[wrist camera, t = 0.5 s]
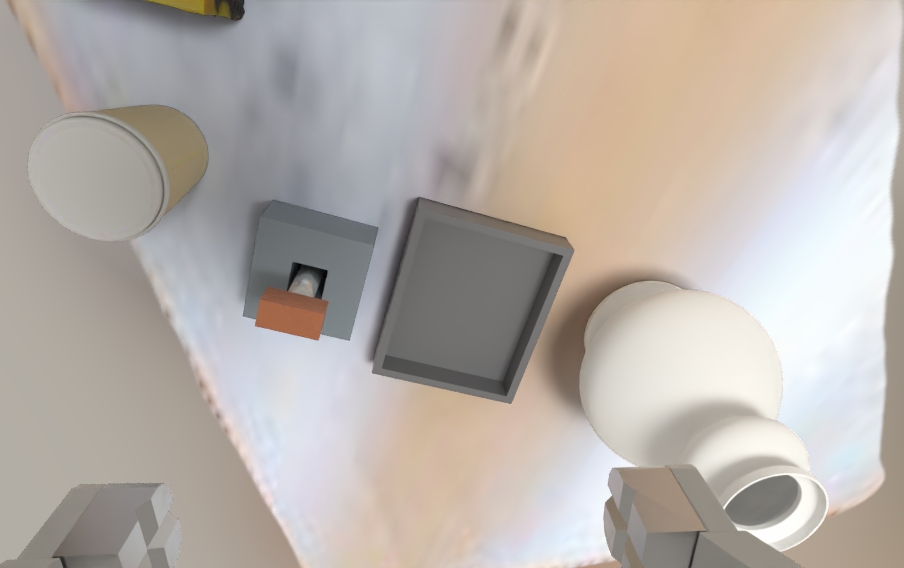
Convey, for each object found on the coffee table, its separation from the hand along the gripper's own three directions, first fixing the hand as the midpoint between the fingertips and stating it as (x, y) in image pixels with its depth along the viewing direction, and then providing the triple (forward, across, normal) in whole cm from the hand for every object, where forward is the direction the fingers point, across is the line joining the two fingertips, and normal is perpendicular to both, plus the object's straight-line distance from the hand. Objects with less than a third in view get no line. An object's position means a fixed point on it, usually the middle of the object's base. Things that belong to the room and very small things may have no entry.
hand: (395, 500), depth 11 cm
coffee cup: (+44, +22, +1) cm, 50 cm away
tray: (+44, -5, +16) cm, 48 cm away
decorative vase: (+45, -24, +21) cm, 55 cm away
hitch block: (+44, +10, +12) cm, 47 cm away
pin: (+44, +10, +12) cm, 47 cm away
